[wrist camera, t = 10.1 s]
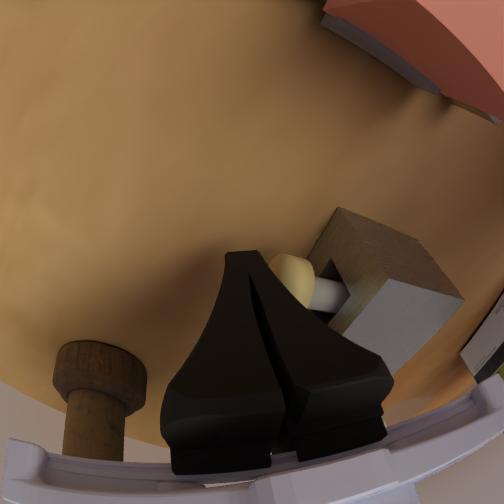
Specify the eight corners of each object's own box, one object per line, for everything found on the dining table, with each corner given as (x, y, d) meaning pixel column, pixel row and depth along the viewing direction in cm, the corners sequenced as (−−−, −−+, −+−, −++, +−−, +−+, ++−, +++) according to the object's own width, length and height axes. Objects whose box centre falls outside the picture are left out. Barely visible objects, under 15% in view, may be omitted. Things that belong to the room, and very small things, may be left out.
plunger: (373, 267, 15) (396, 304, 13) (345, 303, 16) (363, 341, 14) (282, 240, 13) (299, 283, 11) (257, 285, 14) (267, 330, 12)
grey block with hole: (417, 239, 16) (465, 300, 12) (361, 312, 19) (391, 375, 15) (338, 206, 14) (388, 278, 10) (281, 297, 17) (305, 375, 13)
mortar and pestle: (60, 376, 20) (49, 593, 5) (57, 328, 16) (34, 614, 2) (139, 395, 22) (152, 608, 8) (155, 353, 19) (176, 633, 5)
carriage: (457, 19, 9) (568, 43, 4) (422, 92, 11) (531, 144, 6) (352, -63, 6) (458, -103, 2) (307, 18, 9) (407, 5, 4)
